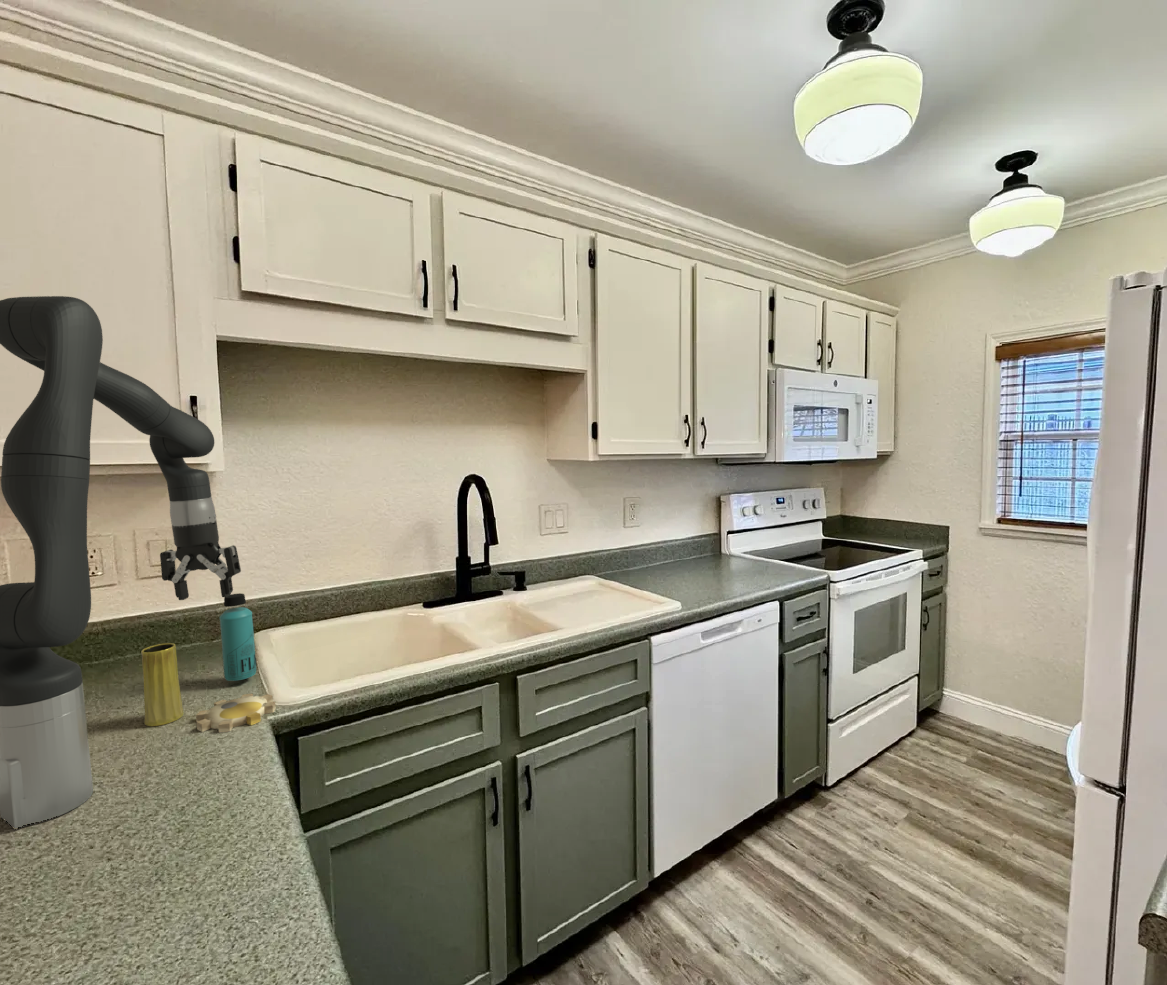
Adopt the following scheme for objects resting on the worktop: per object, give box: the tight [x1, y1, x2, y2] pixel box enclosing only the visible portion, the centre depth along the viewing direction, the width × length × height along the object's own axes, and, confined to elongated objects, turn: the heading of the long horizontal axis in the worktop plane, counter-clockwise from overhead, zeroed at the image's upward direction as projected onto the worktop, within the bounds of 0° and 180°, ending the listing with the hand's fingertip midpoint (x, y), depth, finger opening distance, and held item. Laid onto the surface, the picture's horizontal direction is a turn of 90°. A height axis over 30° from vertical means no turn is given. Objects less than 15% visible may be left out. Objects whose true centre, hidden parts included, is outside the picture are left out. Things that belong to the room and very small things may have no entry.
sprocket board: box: [195, 693, 277, 734], centre depth 107 cm, size 13×13×2 cm
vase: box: [140, 642, 185, 727], centre depth 106 cm, size 6×6×14 cm
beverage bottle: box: [219, 593, 258, 682], centre depth 123 cm, size 6×7×20 cm
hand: (205, 597), depth 114 cm, fingers open, 8 cm apart
